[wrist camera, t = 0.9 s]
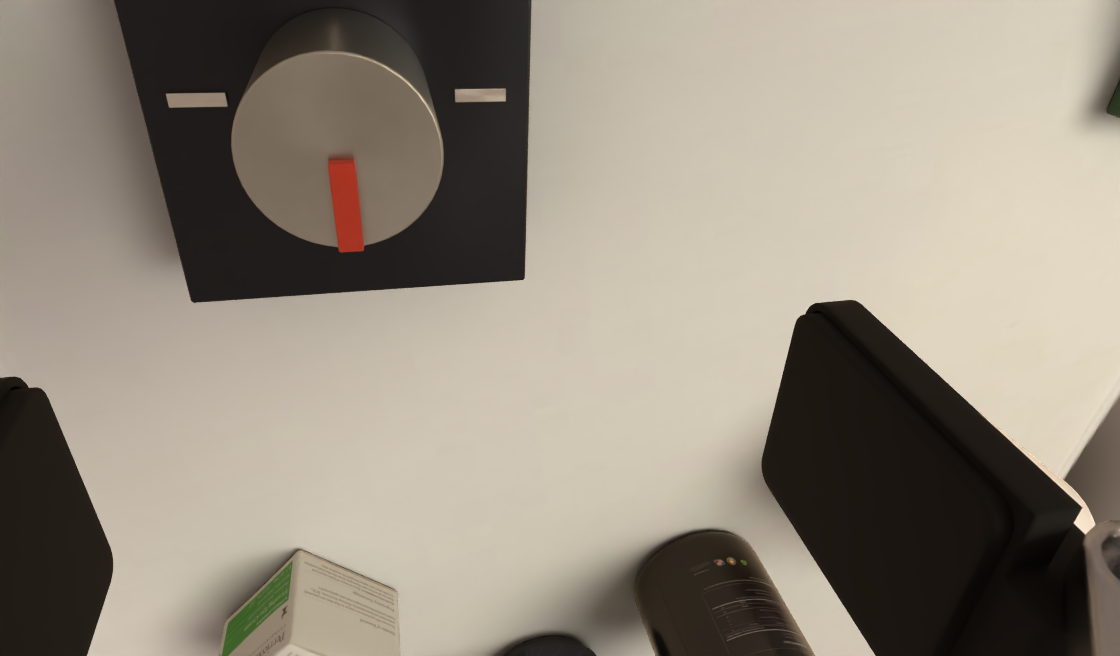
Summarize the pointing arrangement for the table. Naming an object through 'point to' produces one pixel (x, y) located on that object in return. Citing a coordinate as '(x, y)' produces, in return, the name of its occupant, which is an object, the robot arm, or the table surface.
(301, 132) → the dial
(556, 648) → the beverage can
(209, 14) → the dial panel
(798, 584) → the table surface
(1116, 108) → the button box
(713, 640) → the supplement bottle
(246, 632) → the small box
